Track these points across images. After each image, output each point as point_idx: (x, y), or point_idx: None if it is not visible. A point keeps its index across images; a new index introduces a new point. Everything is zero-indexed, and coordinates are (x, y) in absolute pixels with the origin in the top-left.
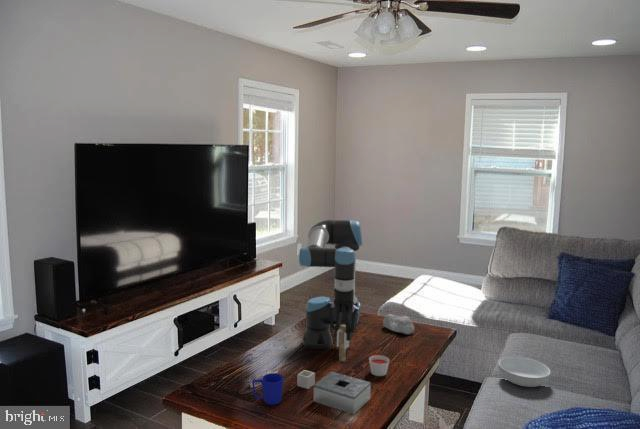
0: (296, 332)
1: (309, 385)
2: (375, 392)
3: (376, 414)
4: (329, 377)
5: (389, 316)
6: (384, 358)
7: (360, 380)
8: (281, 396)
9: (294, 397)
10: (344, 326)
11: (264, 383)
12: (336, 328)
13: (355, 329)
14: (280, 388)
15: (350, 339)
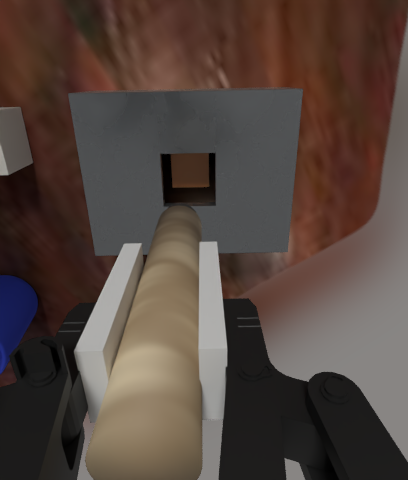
0: None
1: (25, 153)
2: (282, 11)
3: (343, 181)
4: (103, 161)
5: None
6: None
7: (247, 99)
8: (28, 299)
9: (43, 239)
10: (175, 471)
11: None
12: (68, 452)
13: (359, 407)
14: (18, 332)
15: (249, 303)
